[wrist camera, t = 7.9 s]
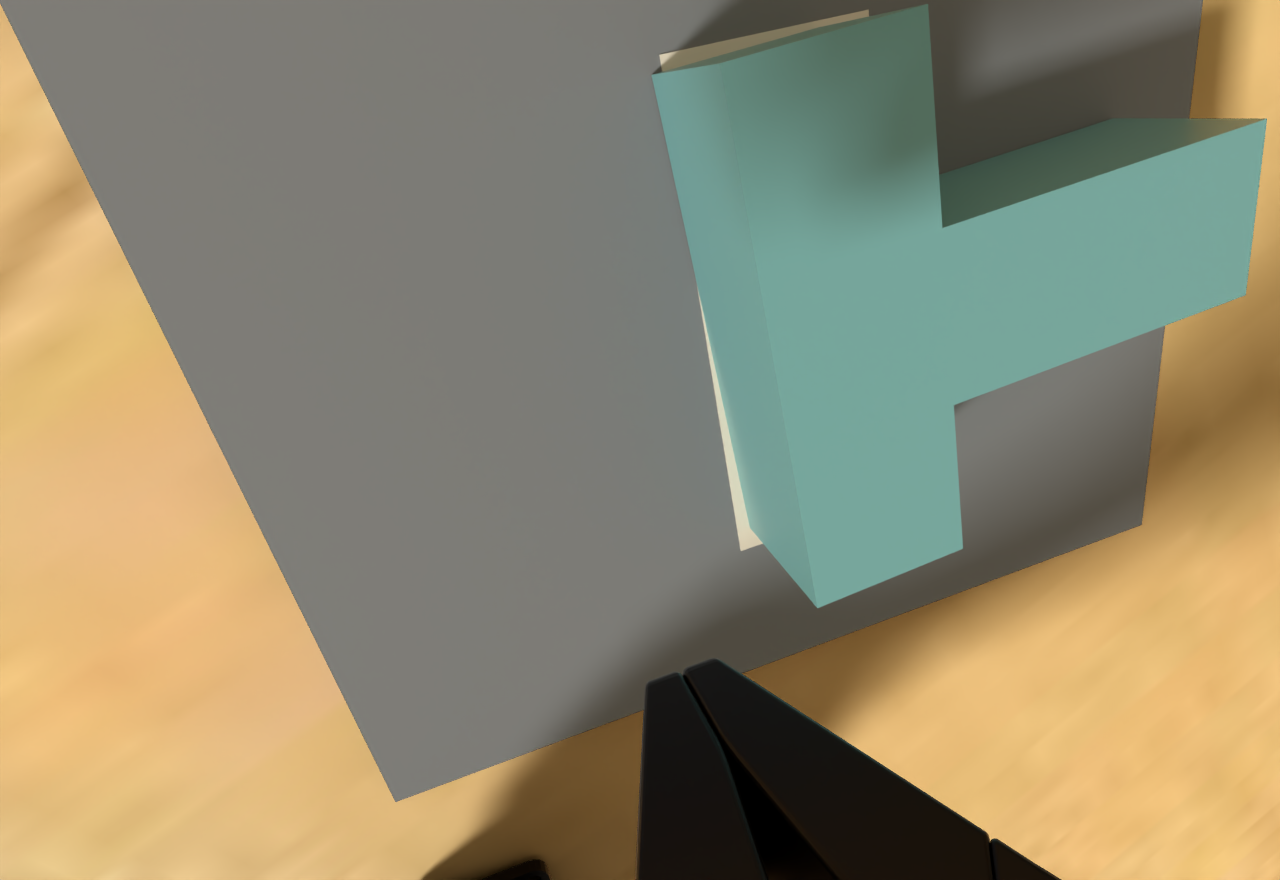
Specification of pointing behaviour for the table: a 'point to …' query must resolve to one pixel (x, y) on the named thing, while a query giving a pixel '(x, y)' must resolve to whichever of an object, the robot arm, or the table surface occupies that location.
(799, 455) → the t block
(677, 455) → the mat
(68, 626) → the table surface
